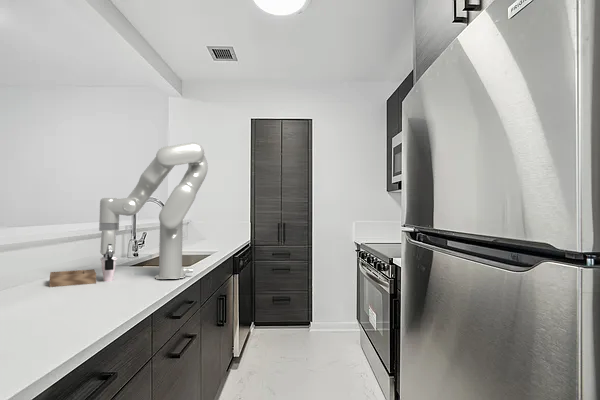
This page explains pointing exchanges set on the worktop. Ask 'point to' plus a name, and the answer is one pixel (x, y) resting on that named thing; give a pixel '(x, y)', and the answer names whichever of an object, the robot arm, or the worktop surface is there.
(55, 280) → the cutout board
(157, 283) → the worktop surface
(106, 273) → the smoothie
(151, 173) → the robot arm
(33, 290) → the worktop surface
